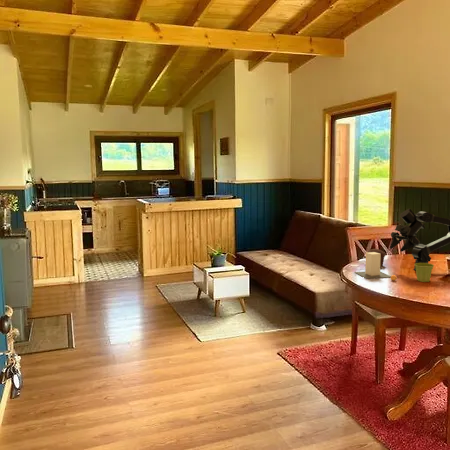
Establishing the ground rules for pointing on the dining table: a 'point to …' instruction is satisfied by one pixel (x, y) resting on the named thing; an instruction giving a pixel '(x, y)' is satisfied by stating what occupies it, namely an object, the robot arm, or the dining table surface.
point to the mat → (366, 276)
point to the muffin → (380, 253)
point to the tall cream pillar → (372, 263)
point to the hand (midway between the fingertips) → (395, 249)
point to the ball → (393, 277)
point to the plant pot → (423, 271)
